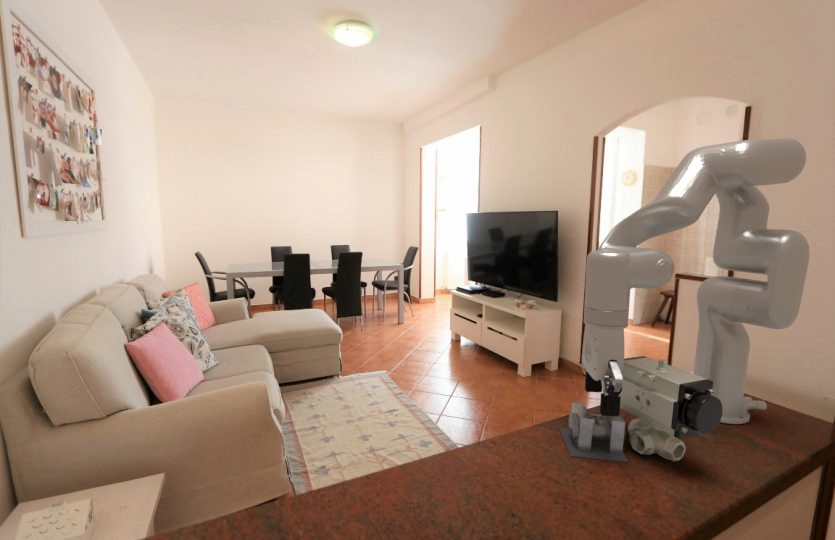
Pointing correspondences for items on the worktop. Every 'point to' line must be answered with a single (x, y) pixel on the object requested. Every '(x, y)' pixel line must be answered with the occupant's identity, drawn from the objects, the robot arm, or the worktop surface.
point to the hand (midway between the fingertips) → (600, 402)
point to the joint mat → (596, 451)
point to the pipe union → (596, 429)
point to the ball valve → (666, 406)
